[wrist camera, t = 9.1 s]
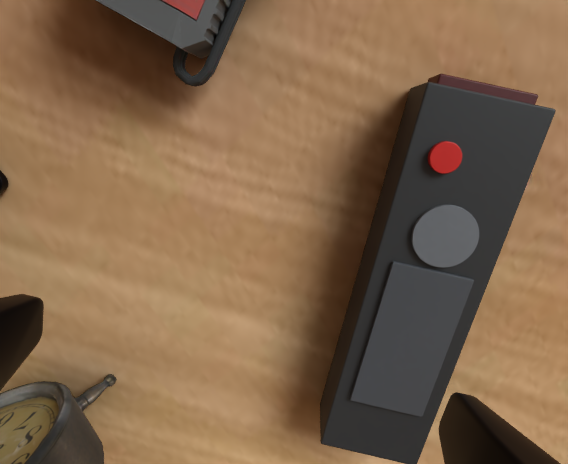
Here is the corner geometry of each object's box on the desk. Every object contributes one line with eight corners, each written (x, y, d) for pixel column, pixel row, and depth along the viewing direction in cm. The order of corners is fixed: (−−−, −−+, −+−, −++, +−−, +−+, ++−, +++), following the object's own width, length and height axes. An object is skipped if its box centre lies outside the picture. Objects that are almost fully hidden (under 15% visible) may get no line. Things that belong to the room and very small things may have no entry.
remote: (403, 423, 22) (417, 472, 19) (319, 404, 22) (320, 449, 19) (522, 100, 17) (567, 95, 14) (413, 76, 17) (434, 67, 14)
